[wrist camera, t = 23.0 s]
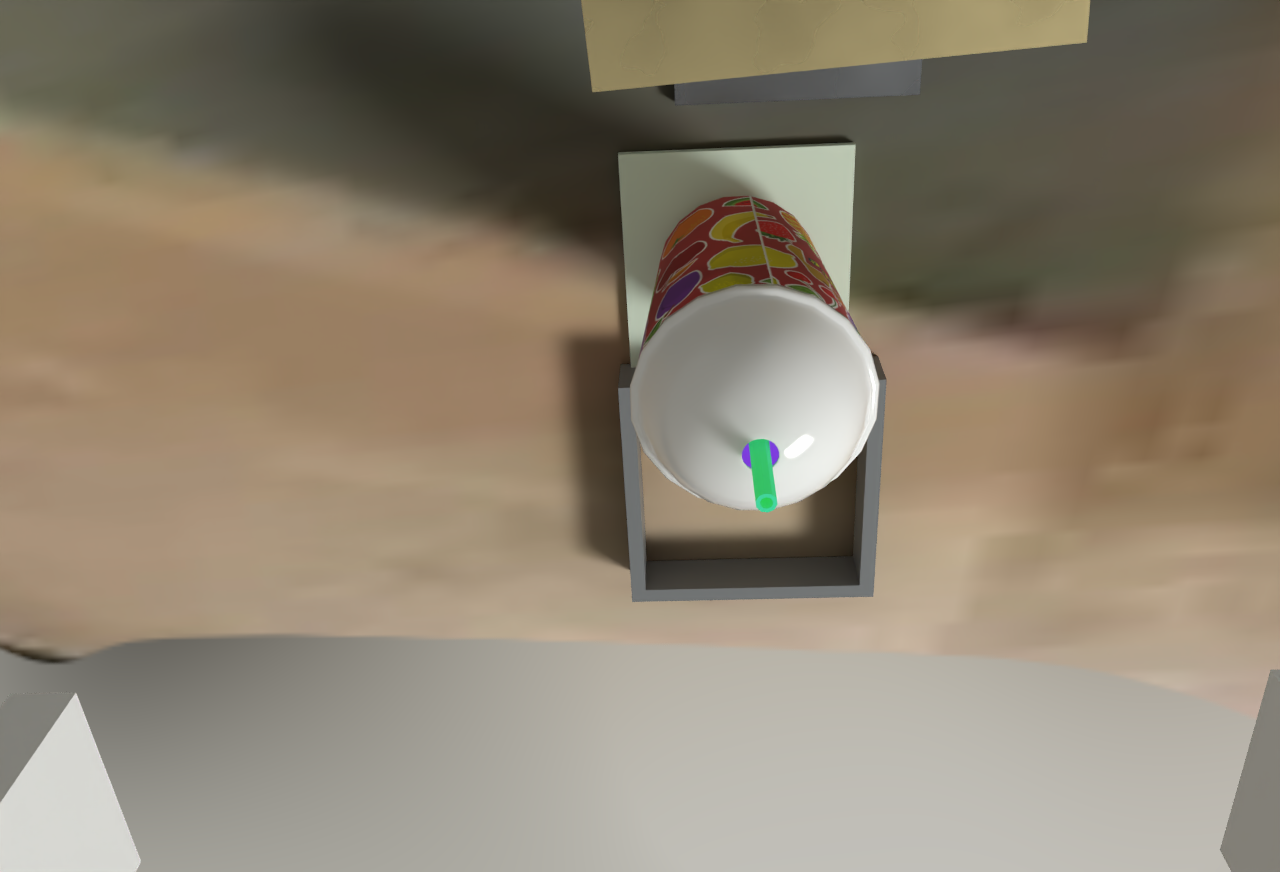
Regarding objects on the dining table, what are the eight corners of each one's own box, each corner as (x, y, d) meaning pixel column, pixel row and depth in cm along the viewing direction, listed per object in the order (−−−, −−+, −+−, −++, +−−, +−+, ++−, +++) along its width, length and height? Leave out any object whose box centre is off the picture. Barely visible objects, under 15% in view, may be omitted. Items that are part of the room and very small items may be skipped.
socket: (620, 364, 53) (618, 388, 51) (877, 356, 52) (886, 379, 50) (634, 572, 59) (632, 601, 57) (866, 567, 58) (873, 596, 56)
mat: (618, 152, 48) (617, 154, 48) (854, 142, 48) (855, 144, 47) (631, 364, 53) (630, 367, 53) (845, 357, 52) (846, 360, 52)
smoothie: (826, 345, 52) (902, 616, 34) (645, 349, 52) (628, 620, 35) (834, 164, 48) (924, 368, 30) (638, 171, 48) (614, 375, 31)
